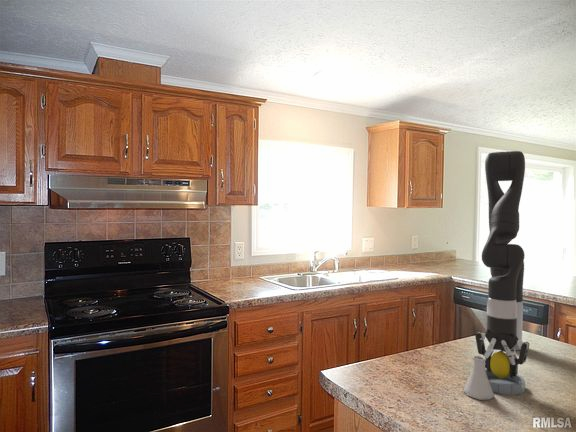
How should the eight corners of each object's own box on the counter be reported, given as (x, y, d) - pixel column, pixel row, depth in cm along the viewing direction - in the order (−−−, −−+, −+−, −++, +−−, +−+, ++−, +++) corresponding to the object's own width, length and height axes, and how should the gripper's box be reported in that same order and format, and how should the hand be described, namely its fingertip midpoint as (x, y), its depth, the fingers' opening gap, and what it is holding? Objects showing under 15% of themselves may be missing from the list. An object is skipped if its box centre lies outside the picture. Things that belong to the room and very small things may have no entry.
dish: (487, 374, 124) (487, 365, 124) (530, 386, 115) (530, 377, 115) (471, 384, 116) (471, 376, 116) (515, 398, 107) (515, 389, 107)
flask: (480, 402, 105) (480, 364, 105) (457, 391, 111) (458, 354, 111) (499, 398, 108) (500, 360, 108) (477, 387, 114) (477, 351, 114)
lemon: (485, 376, 117) (485, 349, 117) (499, 373, 119) (499, 346, 119) (502, 384, 112) (502, 355, 112) (516, 381, 114) (517, 352, 114)
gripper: (534, 317, 113) (533, 378, 113) (481, 307, 123) (480, 363, 123) (525, 321, 107) (524, 385, 108) (470, 311, 118) (469, 369, 118)
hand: (500, 373), depth 115 cm, fingers closed on lemon, 5 cm apart
